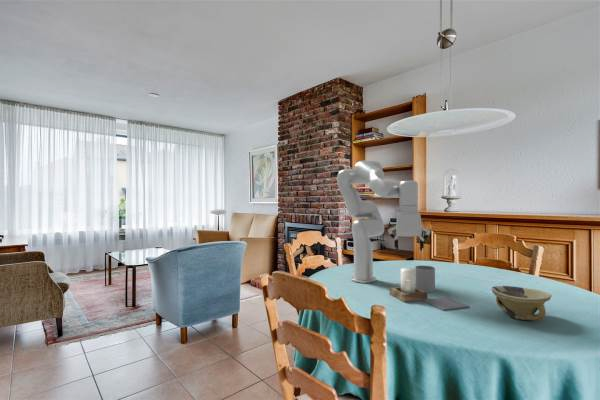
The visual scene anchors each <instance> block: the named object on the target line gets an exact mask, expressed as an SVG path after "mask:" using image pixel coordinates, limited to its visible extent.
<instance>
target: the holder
mask: <svg viewBox="0 0 600 400" xmlns="http://www.w3.org/2000/svg"><path fill="white" fill-rule="evenodd" d="M415 288H416V286H415ZM389 295H390V296H392V297H394V298H395V299H397V300H399V301H400V302H403V303H410V302H412V303H413V302H419V301H420V302H421V301H423V299H428V292H425V291H423V290H420V289H418V288H416V293H407V294H405V293H403V292H401V286H393V287H389Z"/></svg>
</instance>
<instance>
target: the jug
mask: <svg viewBox="0 0 600 400" xmlns="http://www.w3.org/2000/svg"><path fill="white" fill-rule="evenodd" d="M400 287H401V292H403V293H405V294H407V293H416V288H415V287H416V268H412V267H400Z"/></svg>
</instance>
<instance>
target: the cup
mask: <svg viewBox="0 0 600 400" xmlns="http://www.w3.org/2000/svg"><path fill="white" fill-rule="evenodd" d="M414 269H415V287H416V288H418V289H420V290H423V291H425V292H427V293H428V292H429V293H431V292H435V291H436V268H435V267H434V266H430V265H416V266H415V268H414Z"/></svg>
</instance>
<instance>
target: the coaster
mask: <svg viewBox="0 0 600 400" xmlns="http://www.w3.org/2000/svg"><path fill="white" fill-rule="evenodd" d="M422 301H423V302H425V303H427V304H428V305H431V306H432V307H435V308H437V309H439V310H441V311H443V312H446V311H452V310H459V309H460V310H461V309H468V308H470V305H469V304H466V303H464V302H462V301H459V300H456V299H454V298H452V297H449V296H442V297H439V296H438V297H432V298H427V299H423V300H422Z"/></svg>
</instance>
